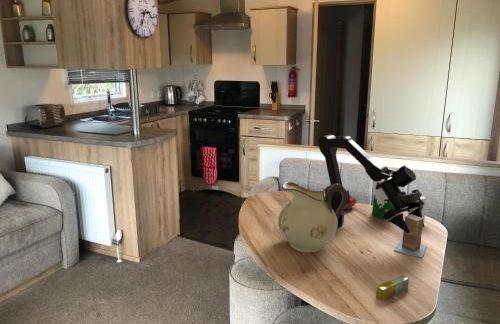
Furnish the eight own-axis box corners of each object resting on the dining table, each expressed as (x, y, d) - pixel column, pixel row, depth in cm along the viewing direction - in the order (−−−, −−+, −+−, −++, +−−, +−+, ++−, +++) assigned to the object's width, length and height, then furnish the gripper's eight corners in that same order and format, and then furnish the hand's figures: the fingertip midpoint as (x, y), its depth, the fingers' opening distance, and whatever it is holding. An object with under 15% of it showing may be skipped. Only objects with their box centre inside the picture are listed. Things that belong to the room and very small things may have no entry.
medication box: (401, 285, 126) (402, 274, 125) (408, 289, 124) (409, 278, 123) (375, 297, 120) (376, 285, 119) (382, 301, 117) (383, 289, 117)
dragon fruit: (330, 211, 190) (353, 213, 192) (338, 207, 182) (361, 209, 185) (329, 194, 193) (351, 196, 196) (337, 189, 185) (360, 191, 188)
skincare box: (424, 223, 172) (427, 197, 169) (417, 225, 170) (420, 199, 167) (413, 218, 177) (416, 193, 174) (406, 220, 176) (408, 195, 172)
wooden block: (413, 252, 146) (417, 220, 143) (401, 246, 150) (405, 216, 147) (419, 249, 148) (423, 218, 145) (408, 244, 152) (411, 214, 149)
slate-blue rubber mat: (393, 251, 148) (394, 250, 148) (399, 241, 156) (399, 239, 156) (422, 258, 143) (422, 256, 142) (426, 247, 151) (426, 246, 151)
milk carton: (383, 210, 187) (386, 170, 182) (397, 217, 179) (401, 175, 174) (368, 213, 183) (372, 172, 178) (382, 220, 175) (386, 178, 170)
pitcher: (266, 247, 150) (267, 185, 144) (297, 227, 169) (300, 171, 162) (318, 266, 137) (322, 199, 131) (346, 242, 156) (351, 182, 149)
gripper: (392, 187, 141) (416, 226, 135) (422, 179, 151) (446, 215, 145) (372, 202, 149) (395, 239, 143) (402, 192, 159) (424, 227, 153)
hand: (416, 229), depth 146 cm, fingers open, 9 cm apart
